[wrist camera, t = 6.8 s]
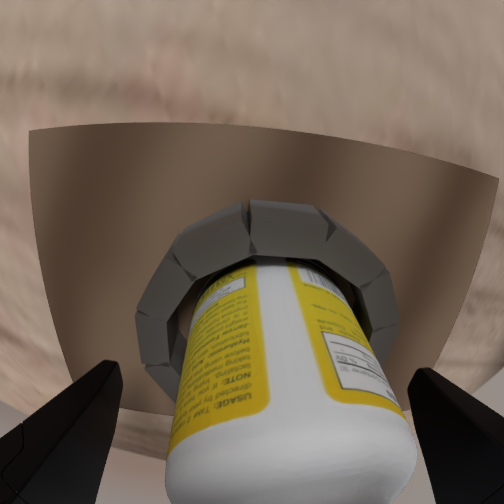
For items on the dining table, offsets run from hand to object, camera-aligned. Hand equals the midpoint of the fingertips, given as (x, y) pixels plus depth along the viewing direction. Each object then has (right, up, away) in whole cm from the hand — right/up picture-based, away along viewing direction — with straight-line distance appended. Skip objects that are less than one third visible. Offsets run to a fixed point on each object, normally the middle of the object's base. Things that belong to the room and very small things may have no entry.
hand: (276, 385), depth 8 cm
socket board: (0, +2, +5) cm, 5 cm away
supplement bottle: (0, +2, +3) cm, 4 cm away
